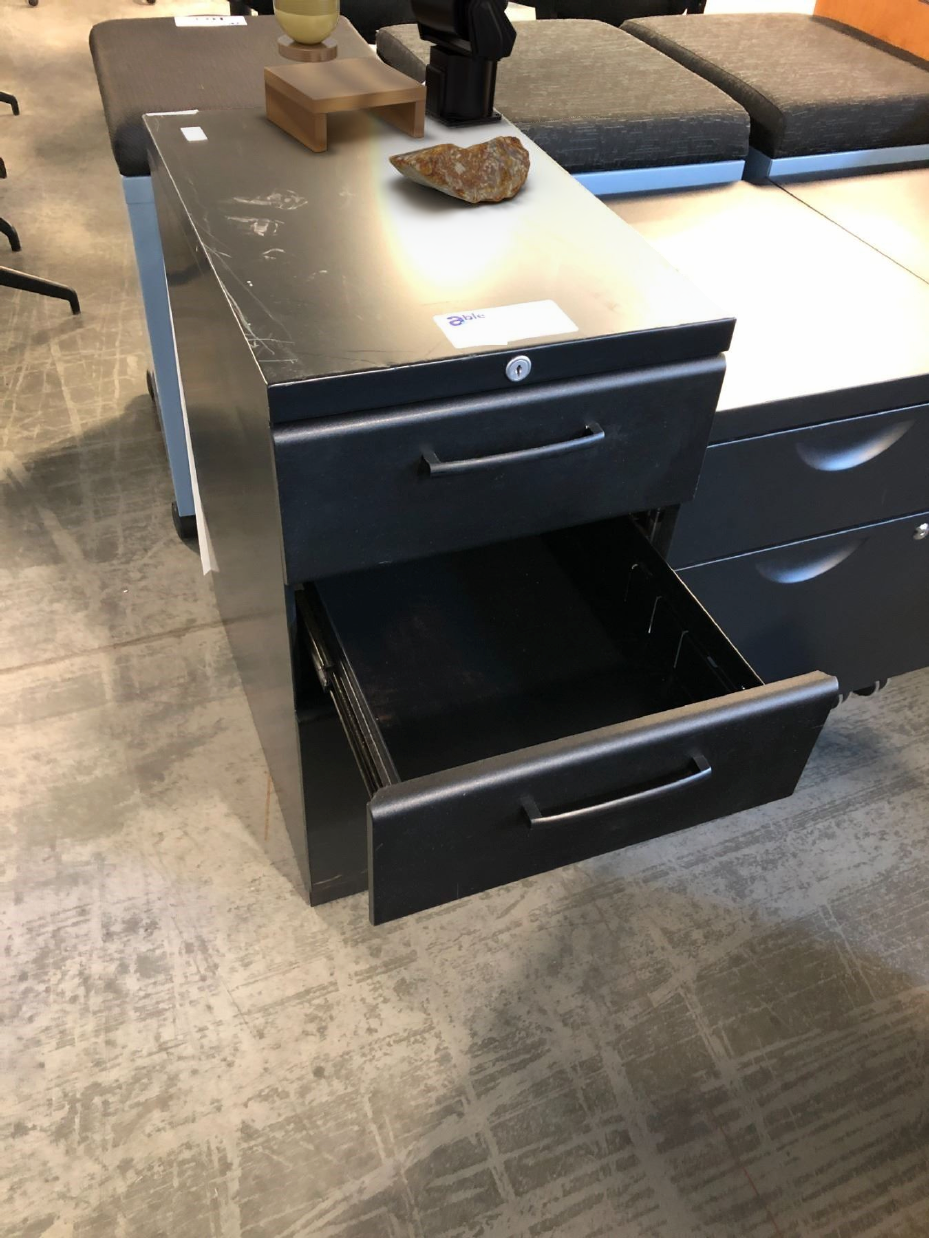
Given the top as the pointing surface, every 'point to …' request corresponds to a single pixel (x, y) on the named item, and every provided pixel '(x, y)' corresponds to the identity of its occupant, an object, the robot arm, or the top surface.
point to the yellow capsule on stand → (307, 29)
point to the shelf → (341, 96)
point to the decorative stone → (469, 168)
